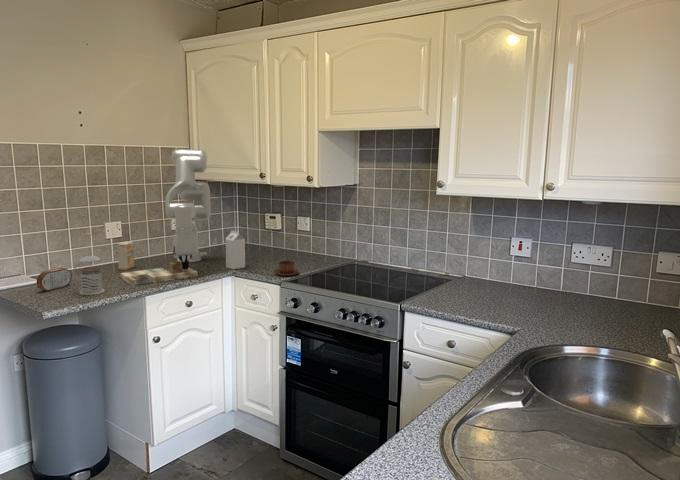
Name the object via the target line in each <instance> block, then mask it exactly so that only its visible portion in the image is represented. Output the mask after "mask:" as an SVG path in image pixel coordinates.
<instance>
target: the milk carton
mask: <svg viewBox="0 0 680 480" xmlns="http://www.w3.org/2000/svg"><path fill="white" fill-rule="evenodd" d="M245 241H246V239H245V238H244V237H243V236H242V235H241V234H240V231H237V230H236V231H235V230H230V233H229V234H228V235H227V236H226V238H225V267H226V268H228V269H231V270H238V269H244V268H246V242H245Z"/></svg>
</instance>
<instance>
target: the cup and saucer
mask: <svg viewBox="0 0 680 480" xmlns="http://www.w3.org/2000/svg"><path fill="white" fill-rule="evenodd" d="M273 273H275V274H276V275H278V276H283V277H290V276H295V275H297V274H298V273H299V269H297V268H295V261H291V260H281V261H279V262H278V268H276V269H274V271H273Z"/></svg>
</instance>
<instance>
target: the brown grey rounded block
mask: <svg viewBox="0 0 680 480" xmlns="http://www.w3.org/2000/svg"><path fill="white" fill-rule="evenodd" d="M72 274H73V273H72V271H71V270H70V269H68V268H65V267H58V268H53V269H48V270H44V271H42V272H40V273H39V274H38V276H37V278H36V286H37V288H38V289H39V290H41V291H47V292H49V291H53V290H57V289H62V288H65V287H67V286H69V285H70V284H71V282H72V279H73V277H72V276H73V275H72Z"/></svg>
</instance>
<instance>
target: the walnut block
mask: <svg viewBox="0 0 680 480" xmlns="http://www.w3.org/2000/svg"><path fill="white" fill-rule="evenodd" d="M168 268H169V269H168V271H169V272H170V273H173V274H175V273H182V263H181V262H178V261H171V262H168Z"/></svg>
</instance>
